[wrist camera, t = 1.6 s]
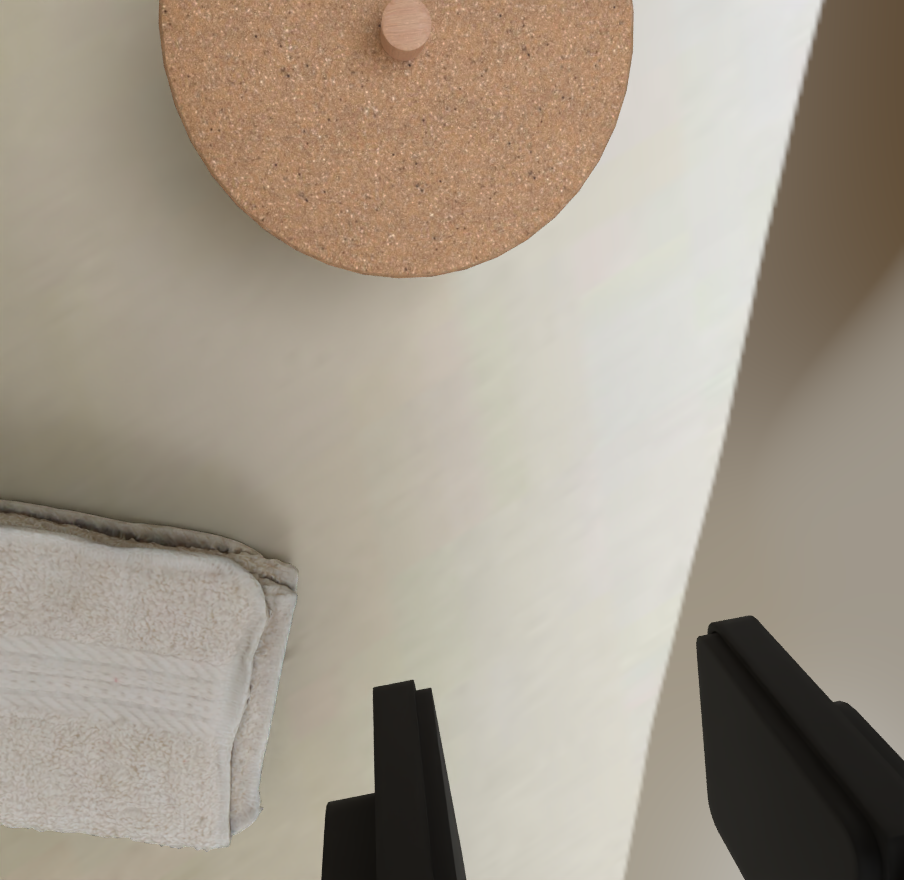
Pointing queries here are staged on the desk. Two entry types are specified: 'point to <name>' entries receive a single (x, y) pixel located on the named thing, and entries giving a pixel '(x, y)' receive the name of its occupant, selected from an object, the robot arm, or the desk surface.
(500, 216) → the trinket box
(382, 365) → the desk surface
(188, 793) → the washcloth
